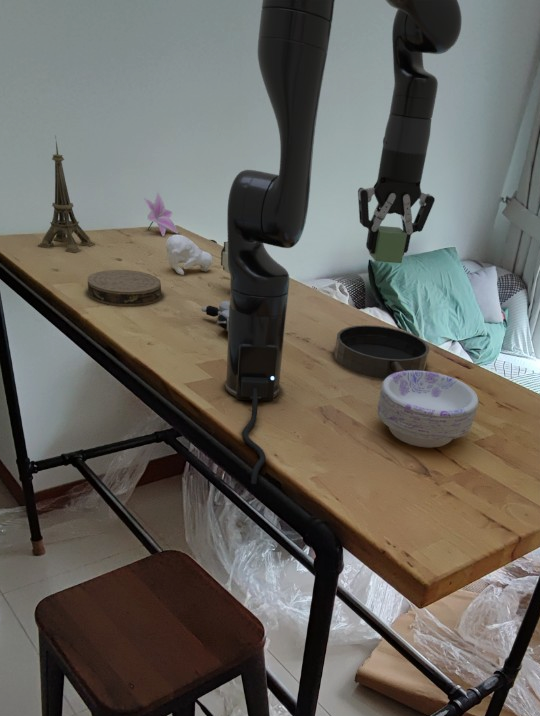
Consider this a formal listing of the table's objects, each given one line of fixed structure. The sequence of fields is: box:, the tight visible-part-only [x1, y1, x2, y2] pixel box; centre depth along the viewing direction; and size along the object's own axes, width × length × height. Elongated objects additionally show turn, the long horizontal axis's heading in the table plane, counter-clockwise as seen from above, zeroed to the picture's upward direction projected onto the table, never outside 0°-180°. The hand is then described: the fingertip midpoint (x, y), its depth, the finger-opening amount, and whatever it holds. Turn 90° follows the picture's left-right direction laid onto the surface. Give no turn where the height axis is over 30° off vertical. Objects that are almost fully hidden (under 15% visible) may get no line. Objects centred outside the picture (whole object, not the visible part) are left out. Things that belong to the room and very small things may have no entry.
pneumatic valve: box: [220, 241, 230, 274], centre depth 149 cm, size 6×12×12 cm, turn 36°
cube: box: [368, 225, 407, 264], centre depth 118 cm, size 5×5×5 cm
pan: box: [333, 324, 430, 380], centre depth 127 cm, size 18×18×4 cm
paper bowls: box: [376, 370, 479, 449], centre depth 103 cm, size 15×15×8 cm
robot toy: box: [200, 300, 230, 332], centre depth 134 cm, size 12×4×15 cm
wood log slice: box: [87, 269, 162, 307], centre depth 144 cm, size 16×16×3 cm
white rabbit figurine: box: [165, 234, 213, 276], centre depth 162 cm, size 6×8×12 cm
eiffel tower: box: [37, 134, 96, 254], centre depth 164 cm, size 11×11×25 cm
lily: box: [143, 191, 179, 237], centre depth 190 cm, size 12×12×10 cm
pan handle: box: [390, 361, 405, 373], centre depth 117 cm, size 9×2×2 cm, turn 9°
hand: (386, 253), depth 119 cm, fingers closed on cube, 5 cm apart
